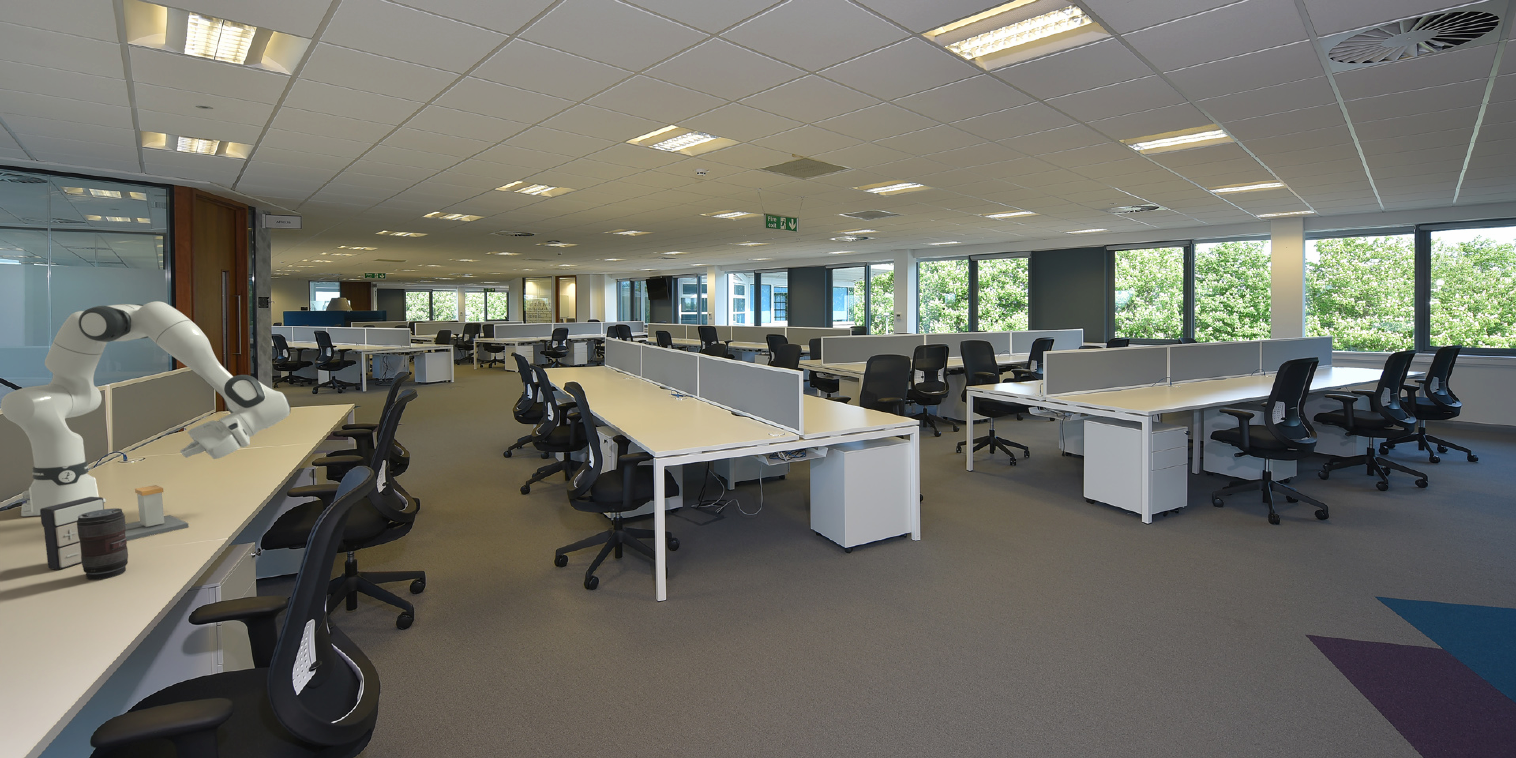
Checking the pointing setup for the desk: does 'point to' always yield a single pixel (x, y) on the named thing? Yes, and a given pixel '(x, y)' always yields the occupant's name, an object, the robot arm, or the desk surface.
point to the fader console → (153, 528)
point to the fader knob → (150, 505)
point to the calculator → (65, 530)
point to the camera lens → (103, 543)
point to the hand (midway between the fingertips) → (182, 454)
